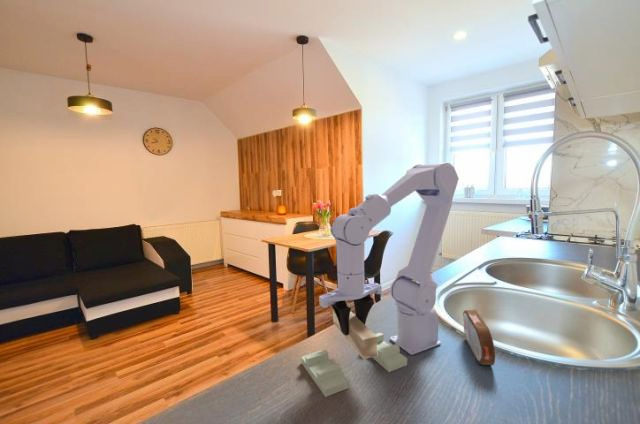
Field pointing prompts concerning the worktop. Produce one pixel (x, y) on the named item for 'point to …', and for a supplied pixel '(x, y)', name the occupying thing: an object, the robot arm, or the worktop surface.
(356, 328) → the bar
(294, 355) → the worktop surface
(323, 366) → the stand
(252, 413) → the worktop surface
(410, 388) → the worktop surface
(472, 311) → the brown rounded slab
